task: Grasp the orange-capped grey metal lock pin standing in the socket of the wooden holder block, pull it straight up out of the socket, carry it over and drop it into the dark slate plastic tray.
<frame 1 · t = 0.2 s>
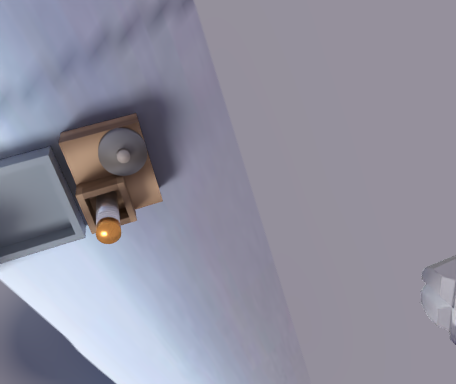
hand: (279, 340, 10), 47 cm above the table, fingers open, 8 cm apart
lock pin: (106, 197, 54), point 4 cm above the table, touching wooden holder block
tray: (20, 202, 55), on the table
wooden holder block: (113, 162, 56), on the table
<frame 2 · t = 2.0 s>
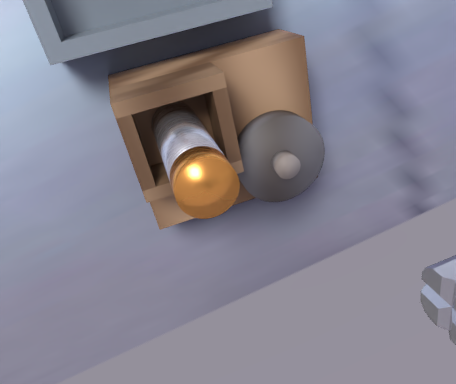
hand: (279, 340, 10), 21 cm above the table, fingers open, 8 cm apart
lock pin: (174, 123, 24), point 4 cm above the table, touching wooden holder block
wooden holder block: (212, 120, 29), on the table
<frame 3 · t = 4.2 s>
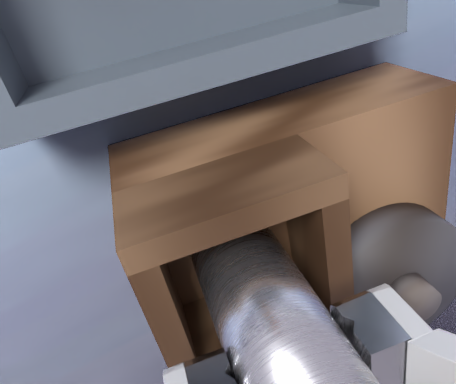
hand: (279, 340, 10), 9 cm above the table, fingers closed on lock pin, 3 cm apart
lock pin: (227, 238, 14), point 4 cm above the table, touching gripper, wooden holder block
wooden holder block: (272, 203, 19), on the table
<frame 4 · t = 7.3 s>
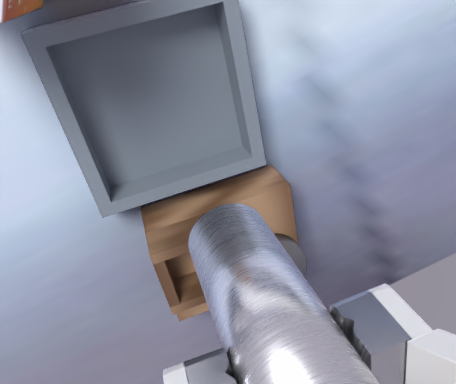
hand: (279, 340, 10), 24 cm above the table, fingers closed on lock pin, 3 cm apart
lock pin: (228, 238, 14), point 19 cm above the table, touching gripper
tray: (157, 98, 30), on the table
wooden holder block: (219, 231, 37), on the table
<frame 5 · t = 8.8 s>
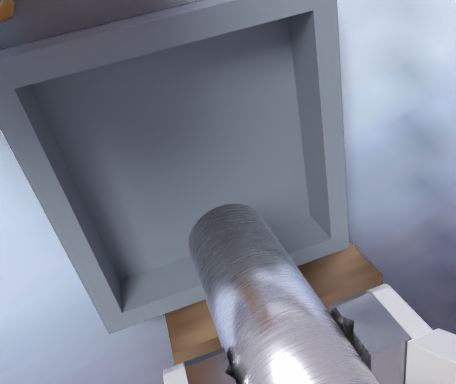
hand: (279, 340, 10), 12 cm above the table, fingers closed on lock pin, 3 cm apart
lock pin: (228, 239, 14), point 7 cm above the table, touching gripper
tray: (192, 153, 20), on the table
wooden holder block: (268, 321, 27), on the table
when the fingers open (7 cm above the table, at t = 10.4 s): lock pin drops 1 cm, resting on tray.
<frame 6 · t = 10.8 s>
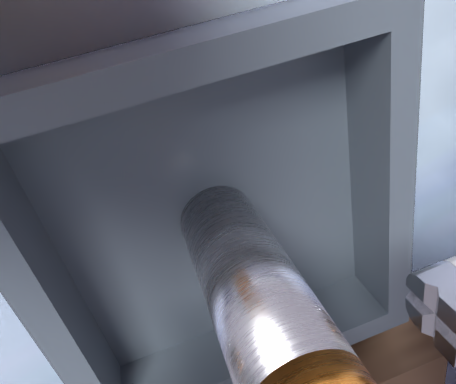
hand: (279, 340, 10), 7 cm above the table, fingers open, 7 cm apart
lock pin: (217, 219, 15), point 1 cm above the table, touching tray
tray: (212, 210, 15), on the table
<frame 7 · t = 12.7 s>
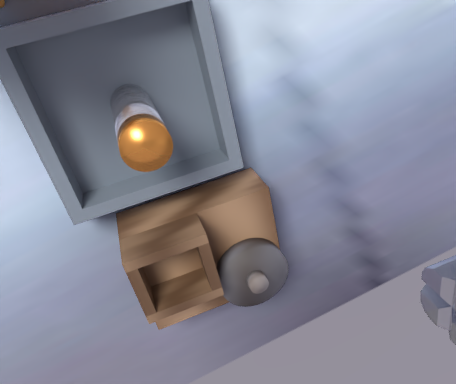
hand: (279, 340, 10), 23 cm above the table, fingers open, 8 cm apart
lock pin: (130, 103, 28), point 1 cm above the table, touching tray
tray: (129, 100, 29), on the table
wooden holder block: (199, 236, 36), on the table
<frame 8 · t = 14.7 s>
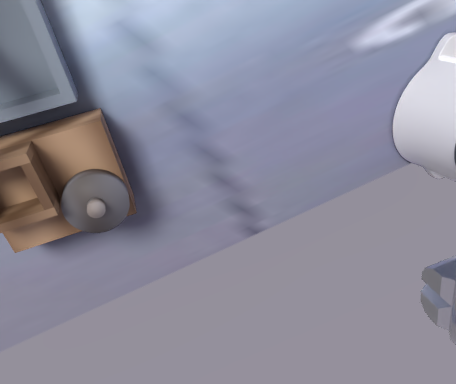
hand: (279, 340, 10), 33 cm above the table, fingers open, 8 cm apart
wooden holder block: (59, 171, 40), on the table
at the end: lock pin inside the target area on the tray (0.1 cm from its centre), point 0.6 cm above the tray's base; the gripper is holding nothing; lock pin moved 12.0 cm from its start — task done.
